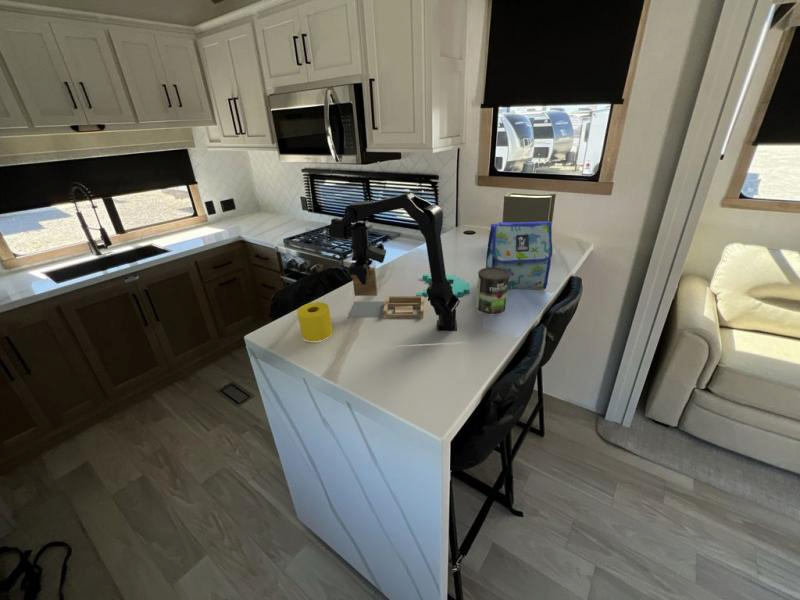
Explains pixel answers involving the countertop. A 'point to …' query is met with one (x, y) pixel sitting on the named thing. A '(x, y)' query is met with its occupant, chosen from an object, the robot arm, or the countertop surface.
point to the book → (528, 207)
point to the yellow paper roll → (315, 321)
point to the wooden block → (366, 284)
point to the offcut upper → (404, 310)
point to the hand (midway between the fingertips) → (364, 283)
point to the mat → (366, 309)
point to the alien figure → (457, 285)
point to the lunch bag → (521, 253)
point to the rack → (404, 301)
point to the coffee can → (492, 291)
